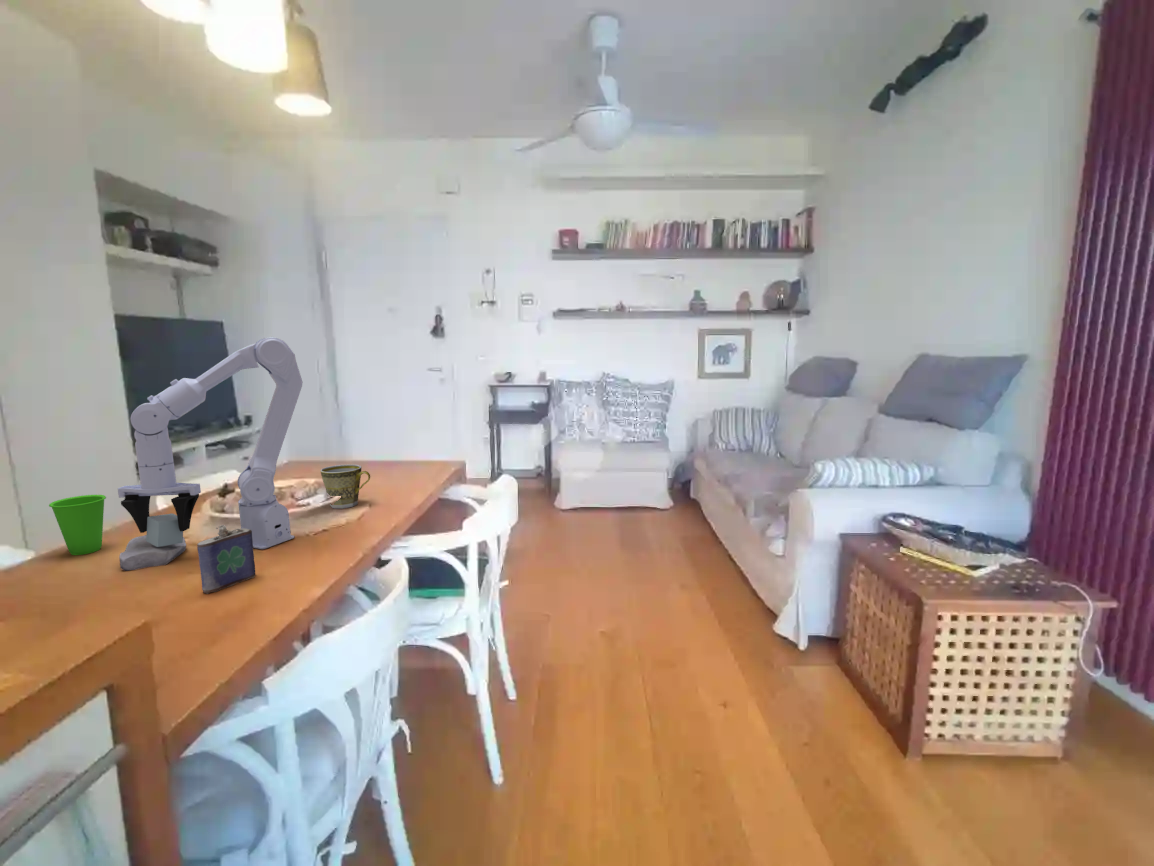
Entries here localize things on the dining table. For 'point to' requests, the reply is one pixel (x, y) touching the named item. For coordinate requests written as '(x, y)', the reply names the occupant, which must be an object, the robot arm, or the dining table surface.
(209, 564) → the flask
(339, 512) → the dining table surface
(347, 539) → the dining table surface
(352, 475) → the ceramic cup
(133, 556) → the stone block
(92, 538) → the cup
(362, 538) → the dining table surface
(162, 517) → the cube
